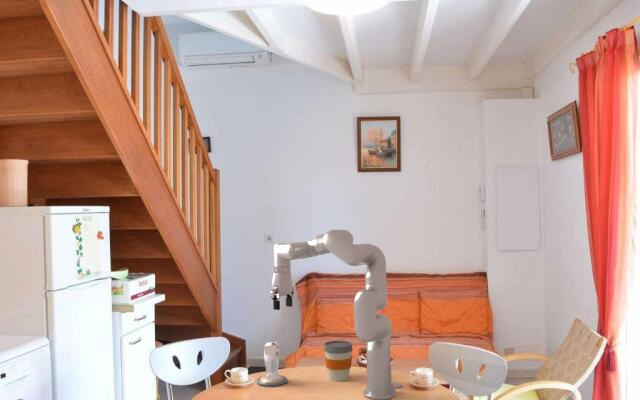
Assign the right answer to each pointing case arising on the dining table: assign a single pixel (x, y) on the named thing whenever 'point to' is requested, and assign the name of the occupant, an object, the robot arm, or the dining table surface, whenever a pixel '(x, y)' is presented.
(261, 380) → the coaster plate
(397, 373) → the dining table surface
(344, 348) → the reusable coffee cup
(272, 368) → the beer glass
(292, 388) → the dining table surface
